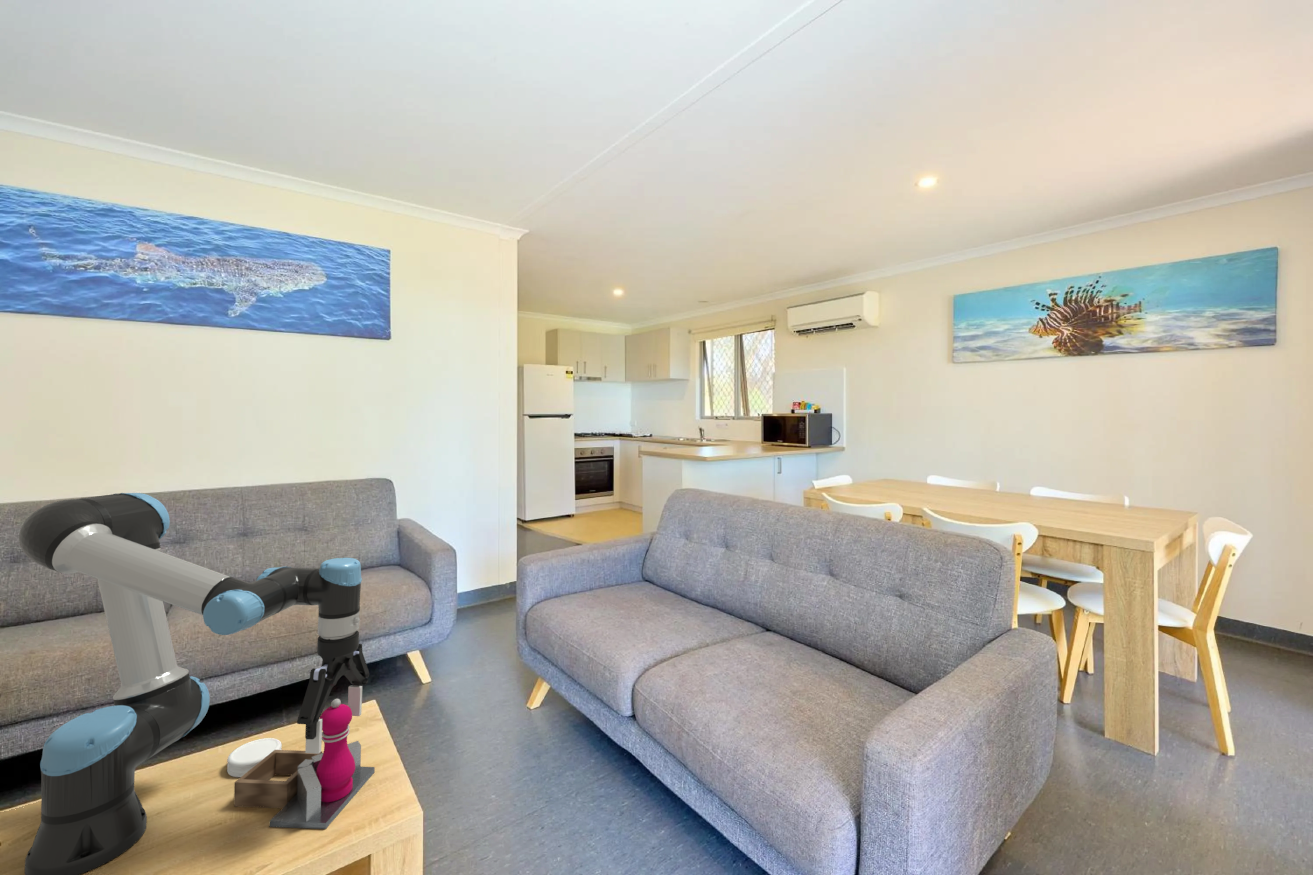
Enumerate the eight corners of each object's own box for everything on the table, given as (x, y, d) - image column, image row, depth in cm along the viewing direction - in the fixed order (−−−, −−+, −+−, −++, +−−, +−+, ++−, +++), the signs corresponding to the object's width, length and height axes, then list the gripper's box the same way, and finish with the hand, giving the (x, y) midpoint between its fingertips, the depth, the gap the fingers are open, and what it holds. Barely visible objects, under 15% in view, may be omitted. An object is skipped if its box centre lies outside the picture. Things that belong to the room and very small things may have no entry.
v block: (325, 828, 101) (326, 792, 101) (269, 826, 102) (270, 790, 102) (374, 772, 118) (375, 740, 118) (326, 770, 119) (326, 739, 119)
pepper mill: (336, 806, 106) (336, 710, 105) (306, 801, 107) (306, 705, 107) (363, 783, 113) (363, 692, 112) (334, 778, 114) (335, 688, 114)
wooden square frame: (234, 806, 107) (234, 782, 107) (274, 771, 118) (274, 749, 118) (286, 808, 107) (287, 784, 107) (322, 773, 118) (322, 751, 118)
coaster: (292, 753, 125) (292, 739, 125) (254, 781, 115) (254, 765, 115) (255, 749, 126) (255, 734, 126) (215, 775, 116) (215, 760, 116)
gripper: (316, 659, 97) (312, 771, 97) (387, 613, 122) (384, 702, 122) (277, 657, 97) (273, 769, 98) (356, 611, 122) (353, 700, 122)
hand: (335, 732), depth 110 cm, fingers open, 13 cm apart
